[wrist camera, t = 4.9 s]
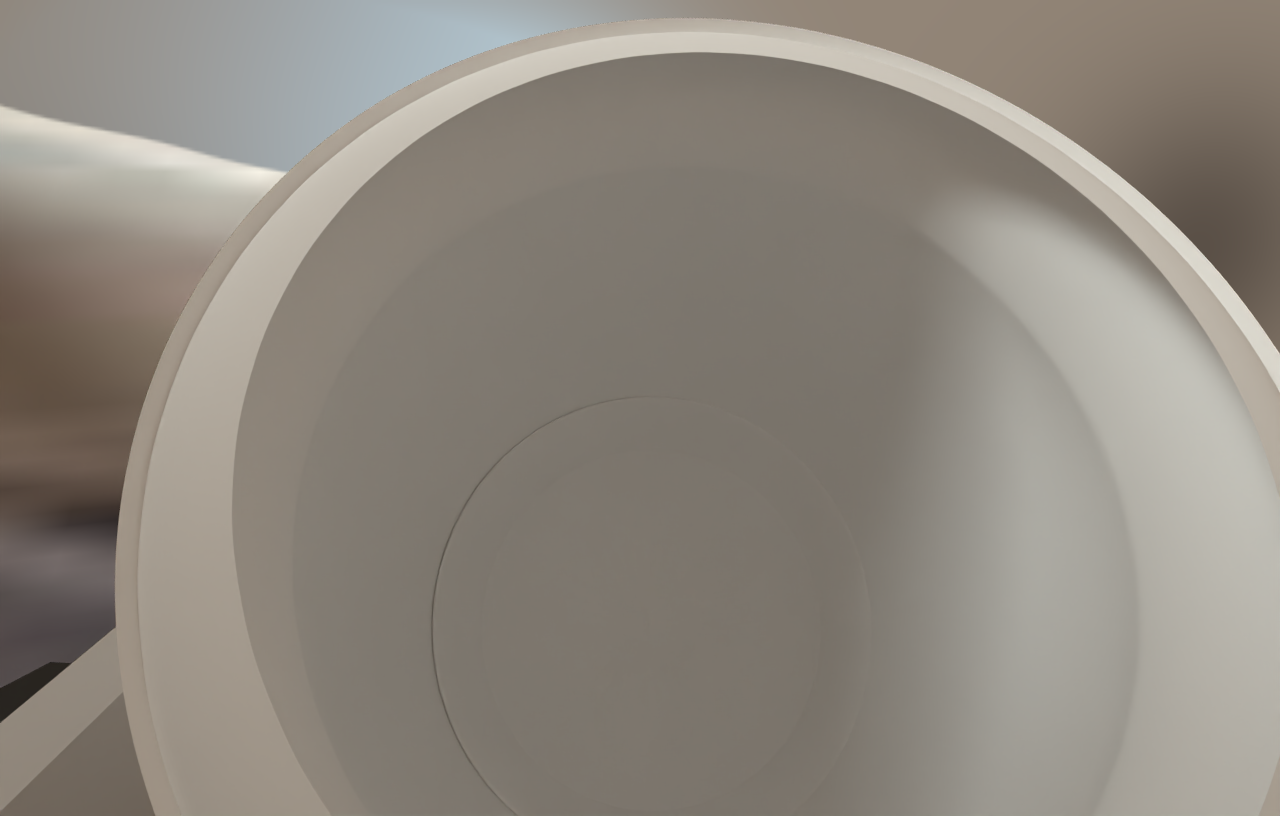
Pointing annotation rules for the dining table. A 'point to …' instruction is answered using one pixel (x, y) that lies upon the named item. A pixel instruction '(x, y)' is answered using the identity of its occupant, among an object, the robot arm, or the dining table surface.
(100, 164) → the dining table surface
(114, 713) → the robot arm
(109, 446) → the dining table surface
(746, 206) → the jar
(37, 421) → the dining table surface
